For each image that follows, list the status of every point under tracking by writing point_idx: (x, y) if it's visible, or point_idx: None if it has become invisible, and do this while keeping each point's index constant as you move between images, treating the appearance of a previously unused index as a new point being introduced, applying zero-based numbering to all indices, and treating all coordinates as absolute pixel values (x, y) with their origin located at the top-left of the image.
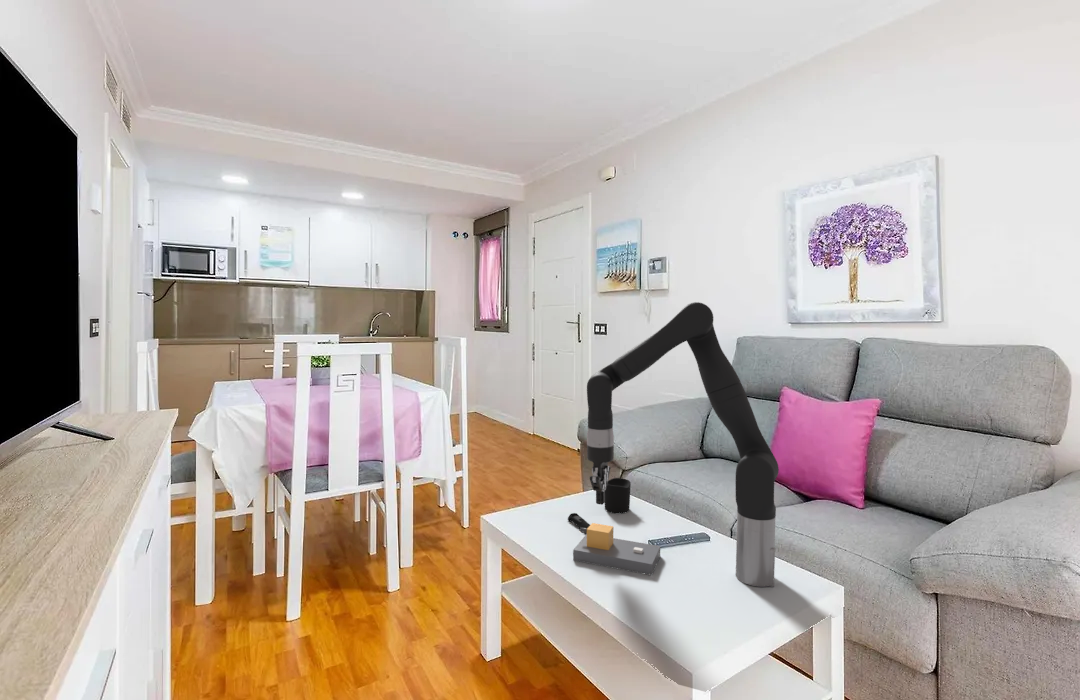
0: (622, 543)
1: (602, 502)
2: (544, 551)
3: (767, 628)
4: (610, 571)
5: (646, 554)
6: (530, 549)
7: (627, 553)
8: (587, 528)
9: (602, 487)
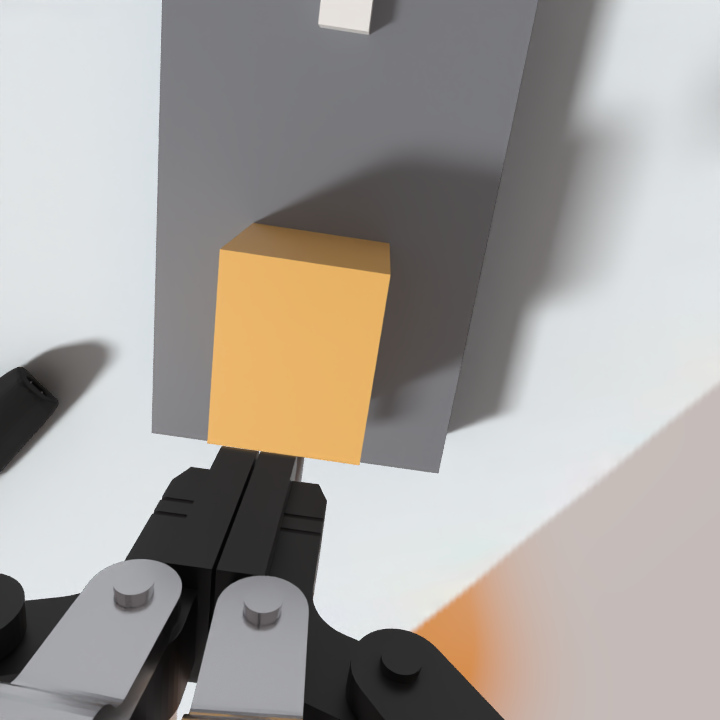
0: (231, 148)
1: (290, 476)
2: (363, 597)
3: None
4: (538, 195)
5: None
6: None
7: (407, 83)
8: (341, 462)
9: (306, 674)
